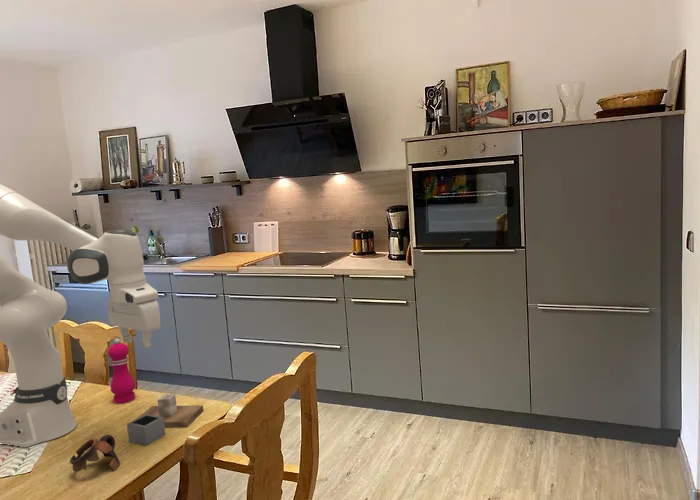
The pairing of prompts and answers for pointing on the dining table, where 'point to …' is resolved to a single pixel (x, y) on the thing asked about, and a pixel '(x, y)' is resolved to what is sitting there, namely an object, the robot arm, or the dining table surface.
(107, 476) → the dining table surface
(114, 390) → the pepper mill
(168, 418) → the post stand
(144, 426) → the grey open box
